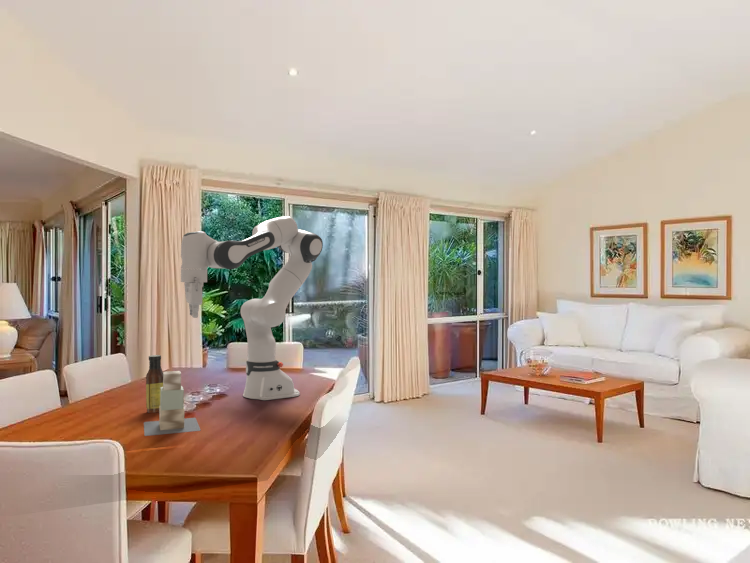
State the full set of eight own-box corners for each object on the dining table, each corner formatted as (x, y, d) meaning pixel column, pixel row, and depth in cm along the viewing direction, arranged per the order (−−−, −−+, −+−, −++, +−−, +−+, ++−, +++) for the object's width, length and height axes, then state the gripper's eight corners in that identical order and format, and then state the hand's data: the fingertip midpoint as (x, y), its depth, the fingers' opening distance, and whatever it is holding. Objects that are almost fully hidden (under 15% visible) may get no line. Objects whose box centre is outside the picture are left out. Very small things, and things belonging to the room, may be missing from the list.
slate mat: (195, 419, 181) (195, 417, 181) (200, 432, 167) (200, 430, 167) (143, 423, 175) (143, 422, 175) (144, 437, 160) (144, 435, 160)
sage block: (181, 404, 175) (182, 385, 175) (183, 408, 169) (183, 389, 169) (160, 405, 172) (160, 387, 172) (161, 410, 166) (161, 391, 166)
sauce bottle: (169, 410, 192) (169, 355, 192) (156, 414, 186) (157, 357, 186) (154, 408, 194) (154, 353, 194) (141, 413, 188) (142, 356, 188)
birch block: (182, 422, 175) (182, 403, 175) (184, 428, 169) (184, 408, 169) (159, 424, 172) (159, 405, 172) (160, 430, 166) (160, 410, 166)
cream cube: (179, 386, 174) (179, 370, 174) (180, 389, 169) (181, 373, 169) (163, 387, 172) (163, 371, 172) (163, 390, 167) (164, 374, 167)
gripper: (206, 277, 181) (206, 318, 182) (200, 277, 200) (200, 314, 200) (187, 277, 179) (186, 319, 179) (182, 276, 198) (182, 314, 198)
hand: (193, 316), depth 190 cm, fingers open, 8 cm apart
